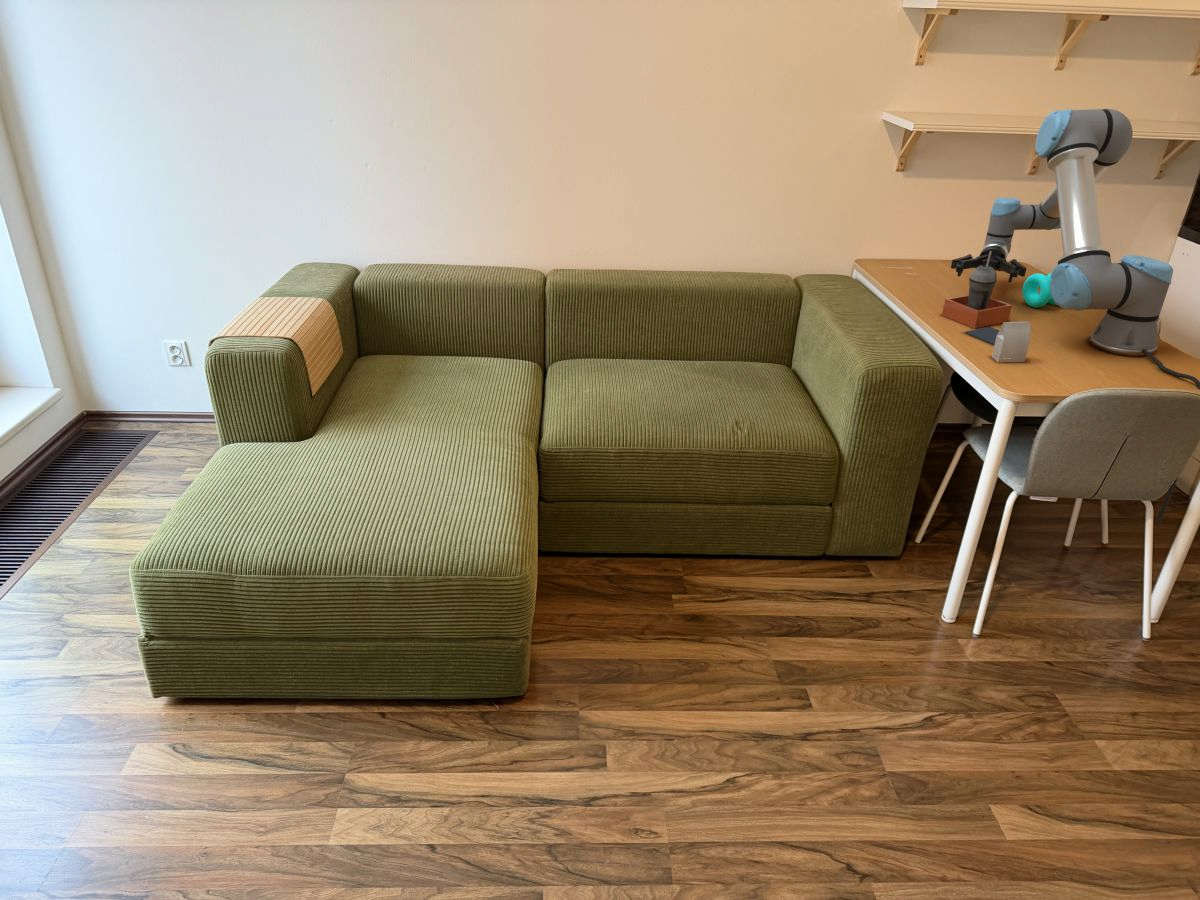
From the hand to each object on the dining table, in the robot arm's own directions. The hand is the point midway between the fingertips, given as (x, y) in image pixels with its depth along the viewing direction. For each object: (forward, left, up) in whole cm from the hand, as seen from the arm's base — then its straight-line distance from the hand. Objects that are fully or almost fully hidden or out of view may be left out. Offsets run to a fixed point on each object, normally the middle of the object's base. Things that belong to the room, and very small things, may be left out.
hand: (984, 274), depth 230 cm
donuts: (-2, -24, -12) cm, 27 cm away
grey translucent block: (-29, +19, -12) cm, 37 cm away
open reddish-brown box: (-2, +3, -12) cm, 13 cm away
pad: (-15, +10, -12) cm, 22 cm away
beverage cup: (-2, +3, -12) cm, 13 cm away
